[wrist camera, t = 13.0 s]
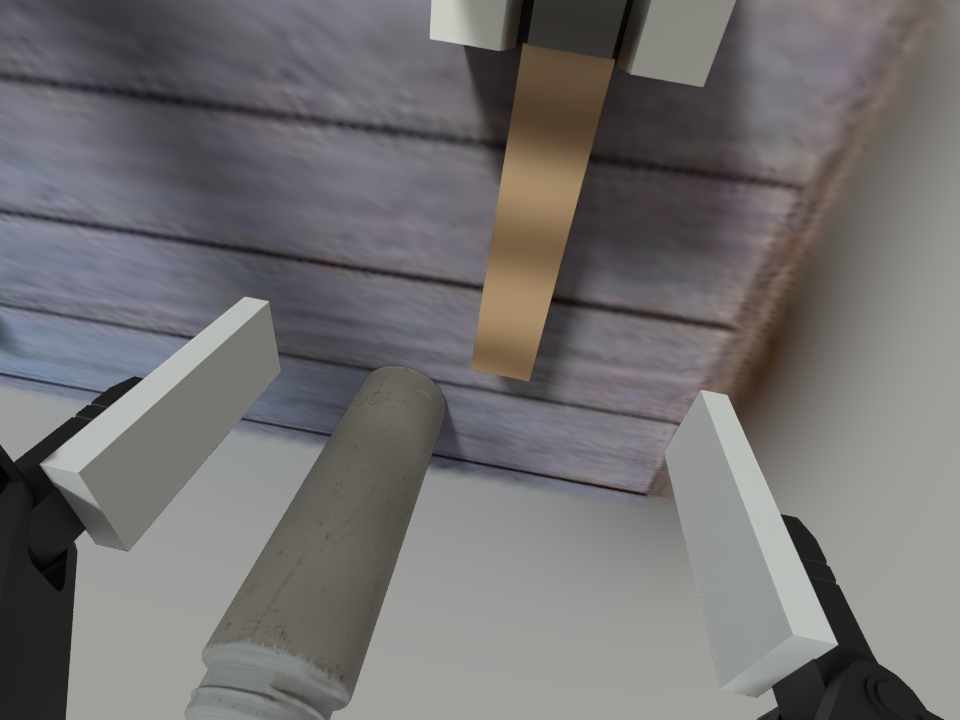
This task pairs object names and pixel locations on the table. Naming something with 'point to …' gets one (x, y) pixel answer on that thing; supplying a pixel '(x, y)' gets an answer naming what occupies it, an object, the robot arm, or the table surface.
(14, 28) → the table surface
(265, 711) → the thermos bottle
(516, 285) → the tan piece
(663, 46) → the white block with nub
